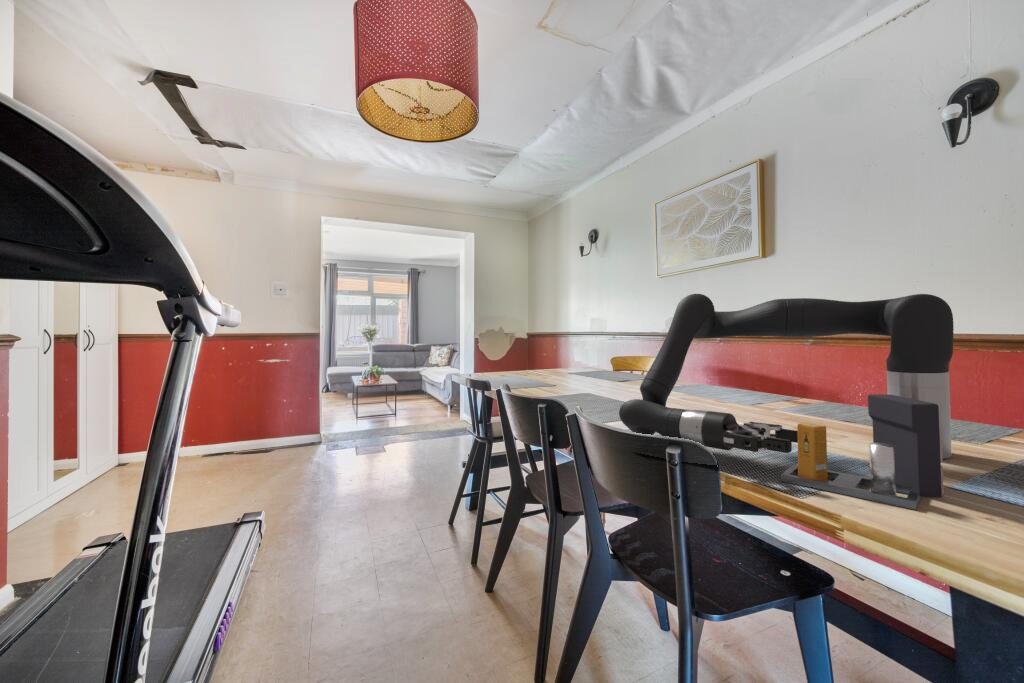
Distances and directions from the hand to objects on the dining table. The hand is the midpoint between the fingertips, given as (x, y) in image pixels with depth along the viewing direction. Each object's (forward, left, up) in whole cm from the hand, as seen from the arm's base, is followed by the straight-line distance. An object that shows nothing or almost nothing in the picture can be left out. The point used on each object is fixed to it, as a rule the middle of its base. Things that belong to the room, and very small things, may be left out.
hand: (798, 442), depth 72 cm
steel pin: (0, +11, -6) cm, 13 cm away
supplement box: (0, +2, -7) cm, 7 cm away
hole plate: (0, +7, -6) cm, 9 cm away
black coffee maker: (-8, +13, -7) cm, 17 cm away
